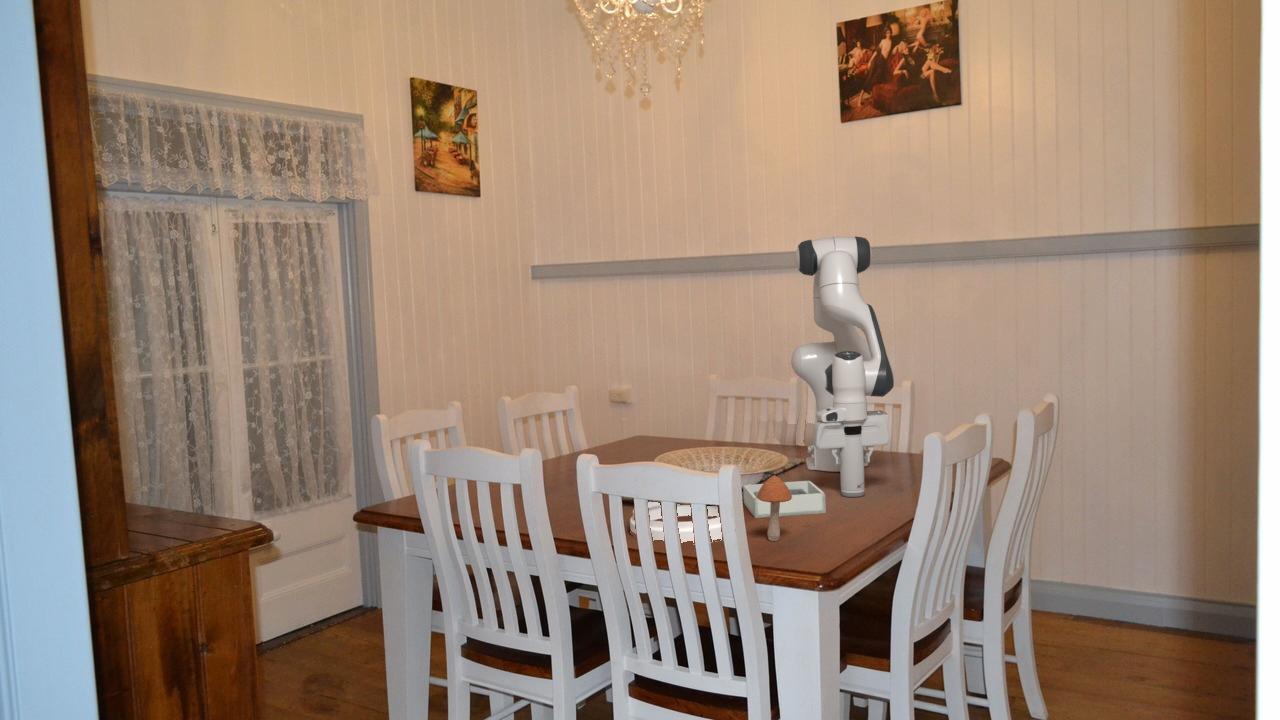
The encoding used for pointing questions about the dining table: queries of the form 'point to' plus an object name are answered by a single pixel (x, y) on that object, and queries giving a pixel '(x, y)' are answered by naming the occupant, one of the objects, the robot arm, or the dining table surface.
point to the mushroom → (774, 503)
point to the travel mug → (852, 463)
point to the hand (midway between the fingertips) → (852, 463)
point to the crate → (802, 502)
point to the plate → (684, 527)
